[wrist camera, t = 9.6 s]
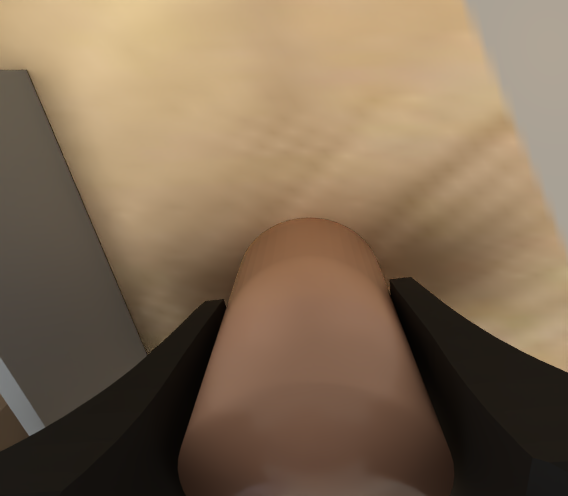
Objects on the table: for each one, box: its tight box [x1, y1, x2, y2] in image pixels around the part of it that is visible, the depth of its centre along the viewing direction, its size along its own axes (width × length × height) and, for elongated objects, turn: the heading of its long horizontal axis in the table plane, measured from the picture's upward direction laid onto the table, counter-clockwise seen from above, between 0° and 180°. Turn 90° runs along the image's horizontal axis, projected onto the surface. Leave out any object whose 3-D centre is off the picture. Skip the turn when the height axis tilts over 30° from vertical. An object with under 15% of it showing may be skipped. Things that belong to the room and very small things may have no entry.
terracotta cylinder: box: [178, 218, 454, 496], centre depth 10 cm, size 5×5×7 cm
